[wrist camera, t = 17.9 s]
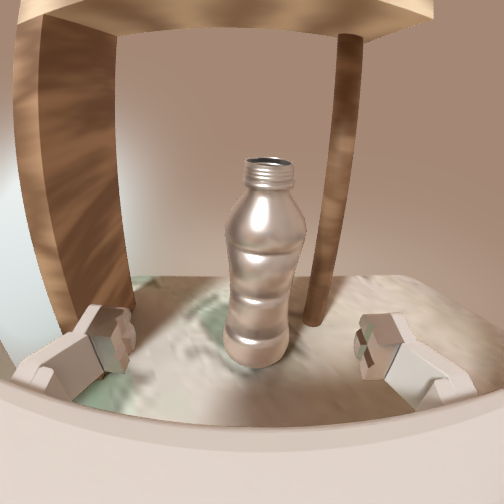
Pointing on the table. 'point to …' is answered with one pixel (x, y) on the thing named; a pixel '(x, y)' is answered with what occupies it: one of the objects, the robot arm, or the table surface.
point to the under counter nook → (103, 127)
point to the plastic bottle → (262, 262)
